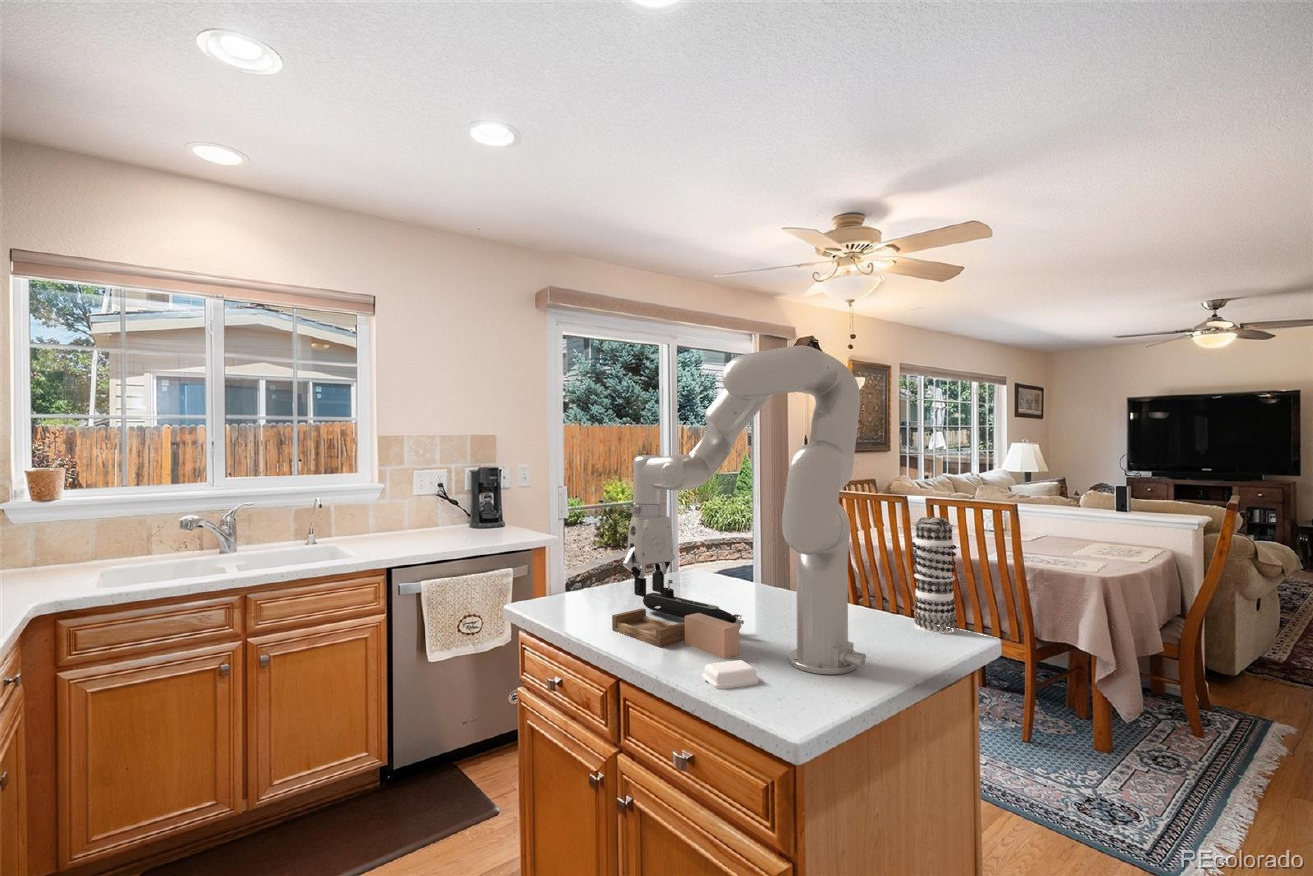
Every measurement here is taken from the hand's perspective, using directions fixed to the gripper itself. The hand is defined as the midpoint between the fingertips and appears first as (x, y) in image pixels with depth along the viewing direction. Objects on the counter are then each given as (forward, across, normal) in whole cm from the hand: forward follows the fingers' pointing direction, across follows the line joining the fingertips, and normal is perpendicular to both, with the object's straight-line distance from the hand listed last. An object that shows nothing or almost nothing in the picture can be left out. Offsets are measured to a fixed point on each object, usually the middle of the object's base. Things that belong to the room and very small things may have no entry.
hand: (649, 592), depth 140 cm
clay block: (+9, +3, -16) cm, 19 cm away
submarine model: (+10, +12, -1) cm, 16 cm away
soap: (+9, -7, -30) cm, 32 cm away
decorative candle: (+9, +50, -41) cm, 65 cm away
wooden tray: (+9, 0, 0) cm, 9 cm away
